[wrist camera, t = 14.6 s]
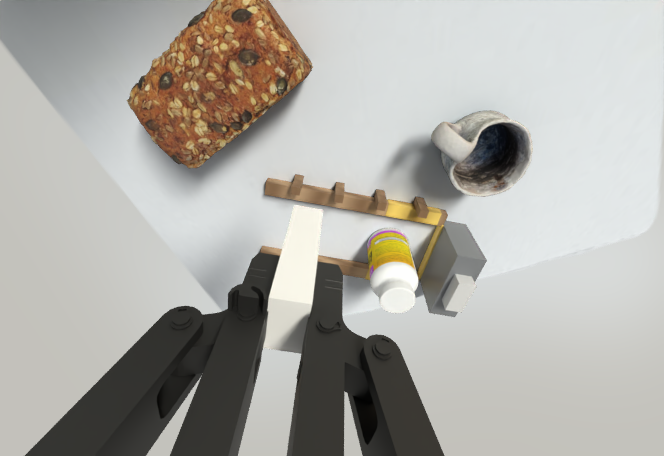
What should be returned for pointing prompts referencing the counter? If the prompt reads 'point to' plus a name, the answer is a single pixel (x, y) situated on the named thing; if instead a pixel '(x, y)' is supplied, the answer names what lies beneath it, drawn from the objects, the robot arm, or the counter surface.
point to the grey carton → (450, 269)
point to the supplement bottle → (392, 270)
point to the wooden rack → (355, 203)
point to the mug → (484, 152)
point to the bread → (218, 79)
